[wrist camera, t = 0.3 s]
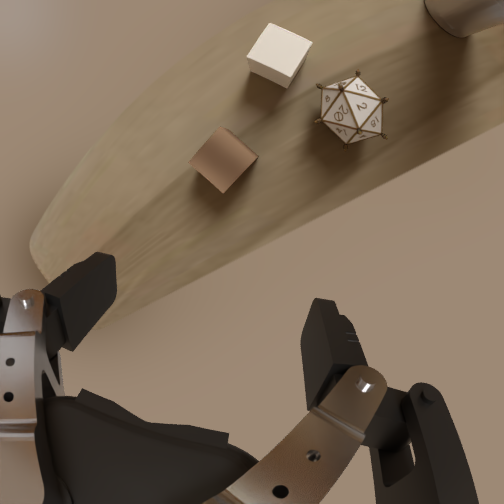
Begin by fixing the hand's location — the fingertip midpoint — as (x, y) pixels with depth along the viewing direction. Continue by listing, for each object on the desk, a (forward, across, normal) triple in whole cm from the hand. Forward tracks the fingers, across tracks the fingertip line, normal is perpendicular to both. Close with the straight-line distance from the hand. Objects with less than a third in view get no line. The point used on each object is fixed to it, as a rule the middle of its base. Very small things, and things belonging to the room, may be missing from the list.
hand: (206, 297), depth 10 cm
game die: (+26, -9, -12) cm, 30 cm away
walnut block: (+26, +3, -4) cm, 26 cm away
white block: (+26, 0, -17) cm, 30 cm away
